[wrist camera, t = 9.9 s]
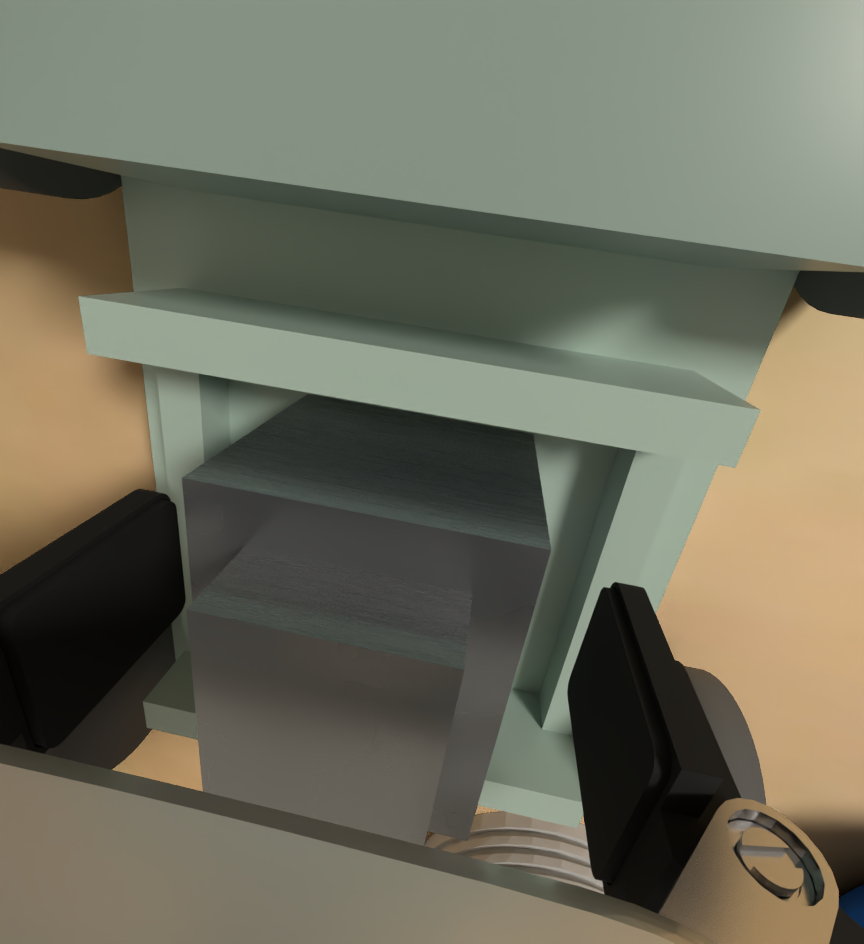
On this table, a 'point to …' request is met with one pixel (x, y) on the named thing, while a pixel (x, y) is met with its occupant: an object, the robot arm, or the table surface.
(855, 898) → the vase
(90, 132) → the chassis
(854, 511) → the table surface
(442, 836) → the engine component
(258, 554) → the block
